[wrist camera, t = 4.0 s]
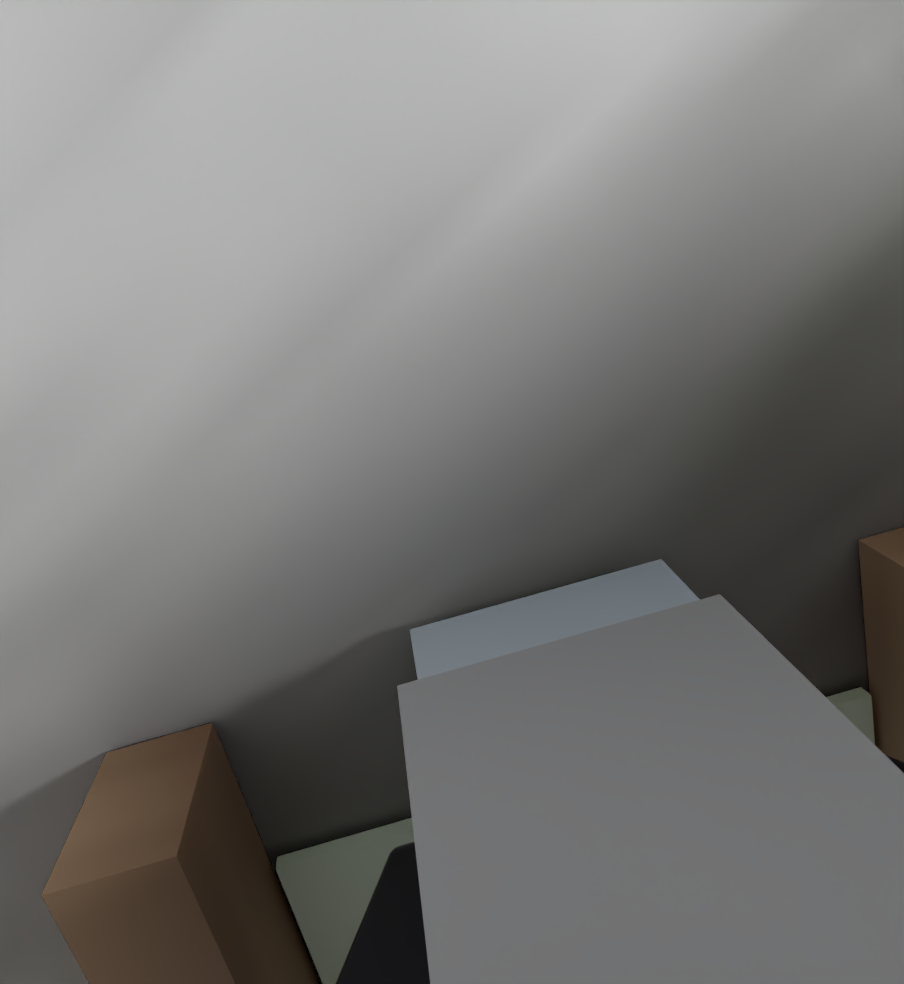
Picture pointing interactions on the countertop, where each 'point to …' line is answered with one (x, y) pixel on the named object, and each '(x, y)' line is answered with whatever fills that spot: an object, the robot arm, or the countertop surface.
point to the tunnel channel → (308, 872)
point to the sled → (643, 799)
